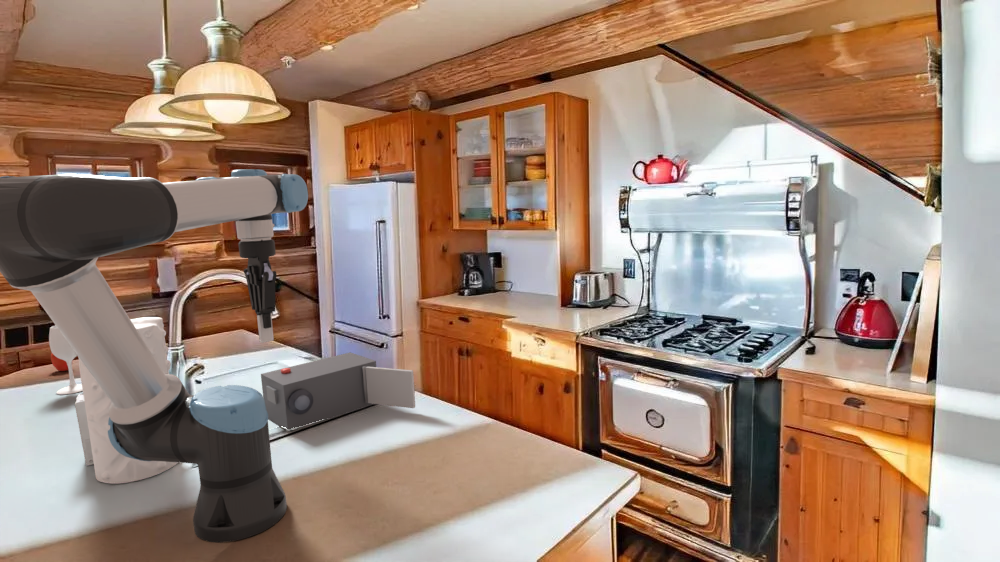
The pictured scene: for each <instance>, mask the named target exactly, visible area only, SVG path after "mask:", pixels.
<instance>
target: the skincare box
mask: <svg viewBox="0 0 1000 562" xmlns="http://www.w3.org/2000/svg"><path fill="white" fill-rule="evenodd" d="M75 400H76V401H75V403H74V408H75V413H76V417H77V424H78V429H79V435H80V440H81V445H82V451H83V456H84V460H85V461H84V462H85V466H92V465H94V462H93V455H92V449H91V442H90V436H89V429H88V422H87V416H86V409H85V402H84V395H83V393H78V394H77V397H76V398H75Z"/></svg>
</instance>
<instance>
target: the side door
mask: <svg viewBox="0 0 1000 562" xmlns="http://www.w3.org/2000/svg"><path fill="white" fill-rule="evenodd" d="M362 371H363V384H364V397H365V403H371V404H373V405H380V406H390V407H398V408H407V409H415V408H416V396H415V380H414V379H415V378H414V370H413V369H398V368H388V367H377V366H376V367H366V366H363V367H362Z"/></svg>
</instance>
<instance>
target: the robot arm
mask: <svg viewBox="0 0 1000 562" xmlns="http://www.w3.org/2000/svg"><path fill="white" fill-rule="evenodd" d="M305 181H306V180H304V179H303V177H302V176H300V175H298V174H295V173H294V174H293V173H290V174H289V173H282V174H268V173H267V171H265V170H264V169H252V168H251V169H247V168H246V169H245V168H244V169H242V168H241V169H233V170H232V171H231V173H230V176H227V177H215V176H207V177H205V176H204V177H199V178H197V179H195V180H186V181H184V180H182V181H172V182H171V181H170V182H161V180H158V179H157V178H154V177H149V176H148V177H146V176H142V177H125V176H124V177H123V176H122V177H121V176H107V175H106V176H105V175H97V174H84V173H81V174H80V173H78V174H77V173H61V174H60V173H59V174H47V175H46V174H45V175H28V176H27V175H25V176H23V175H22V176H13V175H12V176H11V175H3V176H0V274H1V275H2V276H3V278H4V279H5V280H6V282H7V283H8V284H9V286H11V287H12V288H13V289H19V290H24V291H29V292H31V294H32V295H33V297H34V298H35V299H36V300H37V302H38V304H40V305H41V308H43V310H44V311H45V313H46V314H47V315H48V317H49V319H50V320H51V321H52V322H53V324H54V326H55V325H56V326H57V328H58V329H59V331H60V332H61V333H62V335H63V336H64V337H65V339H66V340H67V341H68V343H69V344H70V346H71V347H72V348H73V350H74V351H75V352H76V354H77V355H78V356H77V357H79V358H80V359H81V361H82V362H83V363H84V365H85V366H86V368H87V369H88V370H89V372H90V373H91V374H92V376H93V377H94V378H95V380H96V381H97V383H98V384H99V385H100V387H101V388H102V389H103V391H104V392H105V394H106V395H107V396H108V398H109V399H110V400H111V402H112V404H111V406H110V408H109V420H108V425H110V430H108V437H109V440H110V442H111V444H112V446H113V447H114V448H115V449H116V450H117V451H118V452H119V453H120V454H122V455H124V456H126V457H129V458H134V459H137V460H141V461H164V462H178V463H185V464H193V465H194V464H195V465H197V467H198V468H197V469H198V475H199V482H200V483H199V485H200V488H199V492H198V495H197V499H196V504H195V509H194V513H193V518H192V520H193V521H192V522H193V529H194V531H193V532H194V533H195V536H197V538H199V539H200V540H202V541H206V542H211V543H228V542H229V543H230V542H234V541H240V540H244V539H247V538H250V537H253V536H255V535H258V534H260V533H262V532H264V531H266V530H268V529H270V528H271V527H273V526H275V525H276V524H277V523H278V522H279V521H280V520H282V518H283V517H284V515H285V514H286V513H287V509H288V508H287V506H288V505H287V496H286V492H285V491H284V488H283V487H282V484H281V482H280V481H279V479H278V477H277V475H276V472H275V471H274V469H273V464H272V463H273V462H272V460H273V459H272V451H271V440H270V432H269V431H270V430H269V420H268V413H267V410H266V406H265V400H264V398H263V393H261V392H260V391H259V390H257V389H255V388H253V387H250V386H244V385H238V384H236V385H235V384H227V385H224V386H222V385H217V386H211V387H207V388H205V389H202V390H199V391H198V392H196V393H195V394H194V395H192V394H190V393H189V392H188V390H187V389H186V387H185V385H184V384H183V382H182V381H181V380H180V378H179V377H178V376H176V375H175V374H172V373H171V374H170V373H169V374H164V372H163V371H162V369H161V367H160V366H159V364H158V363H157V361H156V359H155V358H154V356H153V355H152V353H151V352H150V350H149V348H148V347H147V345H146V344H145V342H144V340H143V339H142V337H141V336H140V334H139V333H138V331H137V329H136V328H135V326H134V325H133V323H132V321H131V320H130V319H131V318H130V317H129V315H128V313H127V312H126V310H125V309H124V308H123V305H122V304H121V303H120V301H119V299H118V298H117V296H116V294H115V293H114V291H113V290H112V288H111V287H110V284H108V281H106V280H107V279H105V277H104V276H103V274H102V272H101V270H100V269H99V267H98V266H97V264H96V263H97V261H98V259H99V258H101V257H105V256H110V255H113V254H118V253H121V252H124V251H129V250H132V249H137V248H140V247H144V246H147V245H152V244H156V243H158V244H159V243H161V242H165V241H167V240H168V239H170V238H171V237H172V236H173V235H174V234H175V233H177V232H183V231H187V230H188V231H189V230H193V229H199V228H203V227H208V226H213V225H219V224H223V223H229V222H230V223H231V222H235V228H236V236H237V239H238V240H240V241H239V242H238V243H237V245H238V253H239V257H240V258H242V259H247V267H246V268H244V269H243V273H244V277H245V279H246V285H247V288H248V294H249V299H250V304H251V305H250V306H251V310H252V311H254V312H255V314H256V321H257V329H258V337H259V339H258V340H259V343H260V344H261V343H267V342H268V343H269V342H274V339H275V338H274V337H275V336H274V329H273V319H272V313H273V312H276V279H277V271H276V270H272V264H271V262H270V259H269V258H270V257H275V256H276V252H277V251H276V242H275V240H274V239H272V238H273V237H274V229H275V223H273V216H272V215H274V214H279V213H283V214H284V213H288V214H291V213H297V212H301V211H303V210H305V208H306V206H307V204H308V199H309V192H308V186H307V183H306V182H305ZM79 358H78V359H79Z"/></svg>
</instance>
